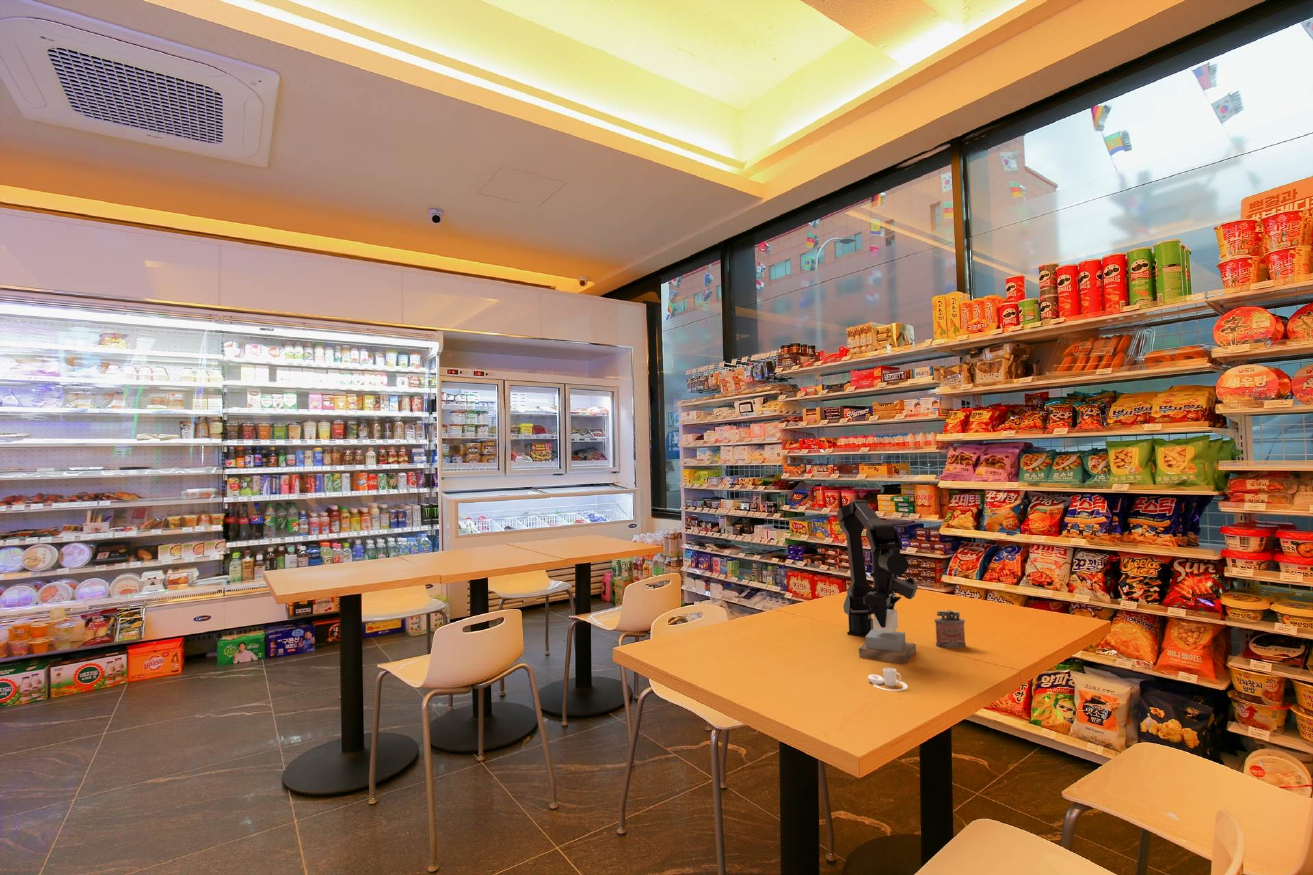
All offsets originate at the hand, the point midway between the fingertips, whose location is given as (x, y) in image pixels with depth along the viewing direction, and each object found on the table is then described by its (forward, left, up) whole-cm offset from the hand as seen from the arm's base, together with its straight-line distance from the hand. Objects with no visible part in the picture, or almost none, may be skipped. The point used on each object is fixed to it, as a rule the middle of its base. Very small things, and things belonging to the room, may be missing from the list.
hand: (885, 625), depth 171 cm
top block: (0, 0, -6) cm, 6 cm away
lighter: (+13, +17, -8) cm, 23 cm away
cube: (0, 0, -1) cm, 1 cm away
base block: (0, 0, -9) cm, 9 cm away
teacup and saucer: (+6, -21, -9) cm, 23 cm away
